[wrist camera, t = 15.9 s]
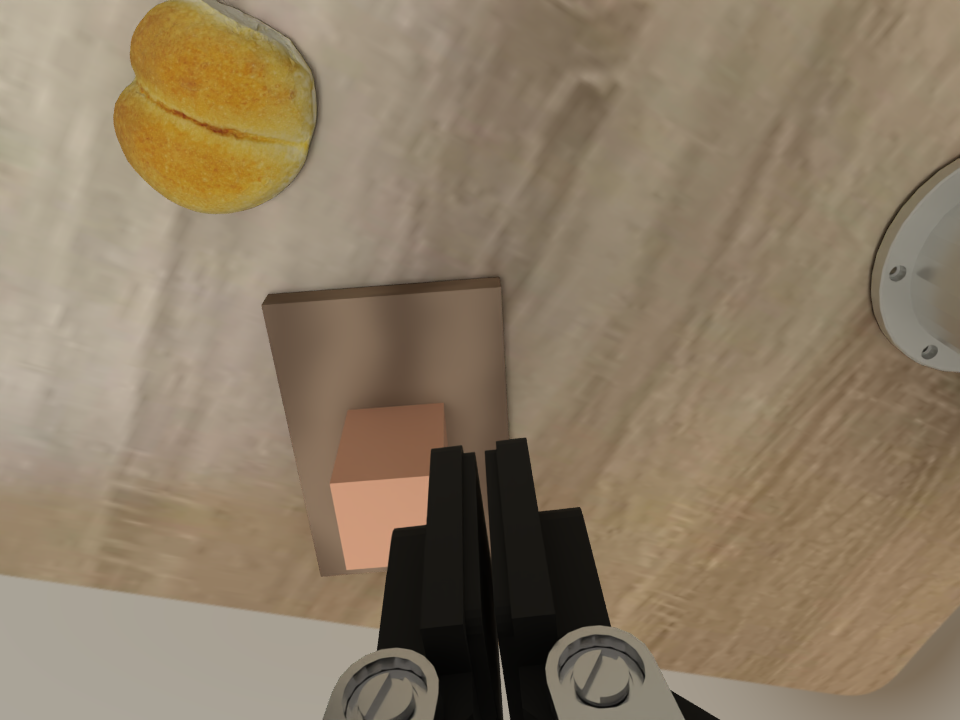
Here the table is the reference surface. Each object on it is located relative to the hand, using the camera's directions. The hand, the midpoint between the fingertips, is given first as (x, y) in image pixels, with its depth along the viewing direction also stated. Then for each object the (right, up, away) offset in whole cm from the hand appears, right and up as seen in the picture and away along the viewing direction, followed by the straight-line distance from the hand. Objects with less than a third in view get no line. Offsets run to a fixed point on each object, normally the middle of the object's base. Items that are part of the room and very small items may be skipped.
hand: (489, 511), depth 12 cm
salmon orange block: (-5, -2, +27) cm, 27 cm away
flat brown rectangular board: (-5, -1, +28) cm, 28 cm away
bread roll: (-12, +15, +20) cm, 28 cm away
